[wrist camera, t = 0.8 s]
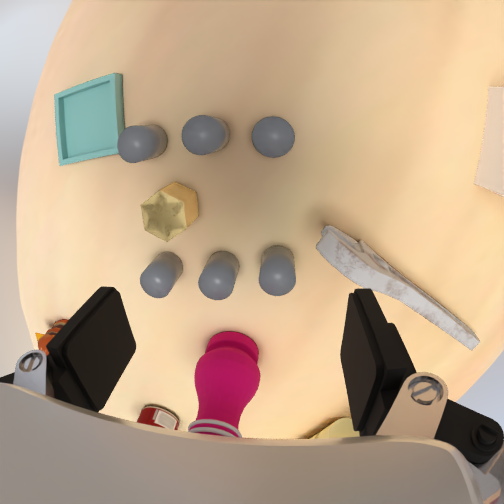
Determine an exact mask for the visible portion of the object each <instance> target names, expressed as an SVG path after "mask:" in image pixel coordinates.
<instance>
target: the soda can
mask: <svg viewBox="0 0 504 504" xmlns="http://www.w3.org/2000/svg"><path fill="white" fill-rule="evenodd" d="M137 423H141V424H146V425H151V426H156V427H161V428H167V429H172V430H178V427H179V421H178V419H177V418H176V417H175V416H174V415H173V414H172V413H170V412H169V411H167V410H165V409H163V408H160V407H153V406H148V407H145V408H143V409H142V411H141V413H140V416H139V418H138V420H137Z"/></svg>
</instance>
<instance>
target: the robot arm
mask: <svg viewBox="0 0 504 504" xmlns="http://www.w3.org/2000/svg"><path fill="white" fill-rule="evenodd" d="M46 348H47V350H48V352H49V354H48V355H46V354H45V352H43V351H41V350H32V351H29V352H27V353H25V354H24V355H23V356H21V357H20V359H19V360H18V361H17V365H16V368H15V372H14V373H12V374H9V375H6V376H4V377H1V378H0V504H504V434H503V430H502V428H501V426H500V425H499V424H498V423H497V422H496V421H494V420H493V419H491V418H489V417H486V416H484V415H482V414H480V413H477V412H475V411H473V410H471V409H469V408H466V407H464V406H462V405H459V404H458V403H456V402H453V401H451V400H449V399H447V398H448V388H447V385H446V384H445V382H444V381H443V380H442V379H441V378H440V377H438V376H436V375H434V374H432V373H427V372H418V373H417V372H416V370H415V368H414V365H413V363H412V361H411V358H410V356H409V354H408V352H407V350H406V347H405V345H404V343H403V341H402V339H401V337H400V335H399V333H398V330H397V328H396V326H395V325H394V324H393V323H387V320H386V318H385V316H384V314H383V312H382V310H381V308H380V306H379V304H378V302H377V299H376V297H375V295H374V293H373V291H372V290H371V288H366V289H355V291H354V293H350V294H349V298H348V306H347V313H346V320H345V327H344V333H343V339H342V345H341V353H340V356H341V363H342V368H343V373H344V378H345V384H346V389H347V394H348V400H349V406H350V411H351V417H352V423H353V429H354V431H359V435H360V436H359V437H342V438H324V439H257V438H240V437H227V436H217V435H208V434H199V433H192V432H185V431H178V430H172V429H167V428H161V427H156V426H151V425H146V424H141V423H137V422H132V421H128V420H124V419H120V418H116V417H112V416H108V415H105V414H101V413H98V412H99V410H102V409H103V408H104V406H105V404H106V402H107V400H108V398H109V397H110V395H111V393H112V391H113V389H114V388H115V386H116V384H117V382H118V381H119V379H120V377H121V375H122V373H123V372H124V370H125V368H126V366H127V365H128V363H129V361H130V360H131V358H132V356H133V354H134V353H135V350H136V342H135V340H134V337H133V334H132V331H131V328H130V325H129V322H128V318H127V315H126V312H125V309H124V306H123V302H122V299H121V295H120V293H119V292H118V291H117V290H116V289H115V288H114V287H100V288H99V289H98V290H97V291H96V292H95V293H94V294H93V295H92V296H91V297H90V298H89V299H88V300H87V301H86V302H85V303H84V304H83V305H82V307H81V308H80V309H79V310H78V311H77V312H76V313H75V314H74V315H73V316H72V317H71V318H70V319H69V320H68V322H67V323H66V324H65V325H64V326H63V327H62V328H61V329H60V330H59V331H58V333H57V334H56V335H55V336H54V337H53V338H52V339H51V340H50V342H49V343H48V344H47V345H46Z"/></svg>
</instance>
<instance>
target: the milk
mask: <svg viewBox="0 0 504 504" xmlns="http://www.w3.org/2000/svg"><path fill="white" fill-rule="evenodd" d="M474 184H476V185H478V186H480V187H483V188H485V189H487V190H489V191H491V192H494V193H496V194H498V195H500V196H502V197H504V87H488V99H487V110H486V119H485V127H484V134H483V140H482V146H481V152H480V157H479V163H478V167H477V172H476V177H475V181H474Z"/></svg>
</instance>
